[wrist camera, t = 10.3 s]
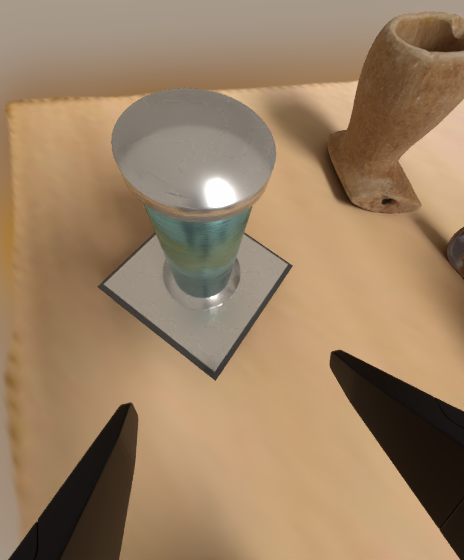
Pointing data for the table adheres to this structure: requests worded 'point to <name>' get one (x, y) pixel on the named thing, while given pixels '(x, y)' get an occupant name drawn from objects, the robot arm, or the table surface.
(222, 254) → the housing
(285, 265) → the stand
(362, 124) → the stone cup
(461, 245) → the tin
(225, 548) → the table surface
